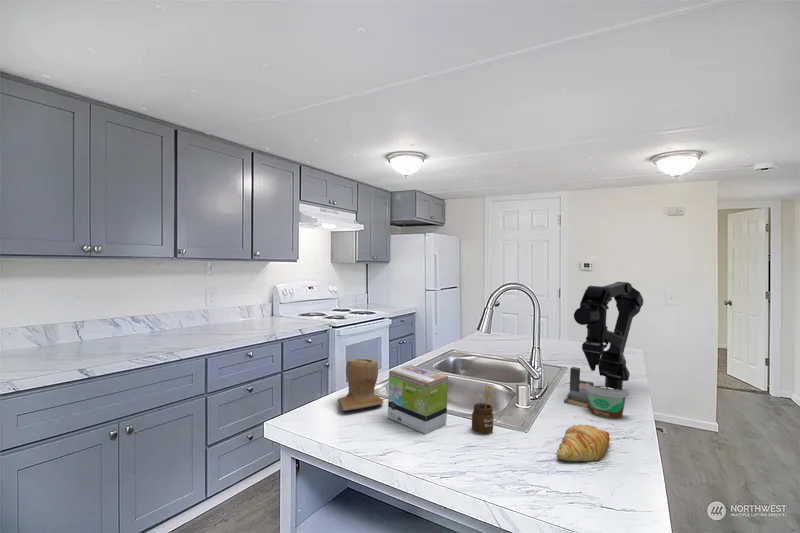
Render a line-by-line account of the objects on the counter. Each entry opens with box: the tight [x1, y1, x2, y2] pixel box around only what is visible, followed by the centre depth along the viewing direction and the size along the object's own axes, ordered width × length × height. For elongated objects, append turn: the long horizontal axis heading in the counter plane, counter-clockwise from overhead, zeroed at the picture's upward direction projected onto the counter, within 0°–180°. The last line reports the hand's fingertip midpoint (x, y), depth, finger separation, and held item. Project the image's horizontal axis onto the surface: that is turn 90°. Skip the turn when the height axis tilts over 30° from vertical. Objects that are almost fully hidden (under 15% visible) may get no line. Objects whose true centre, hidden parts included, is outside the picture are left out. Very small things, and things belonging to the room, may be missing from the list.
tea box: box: [387, 364, 449, 435], centre depth 119 cm, size 15×10×15 cm, turn 47°
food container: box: [585, 383, 629, 420], centre depth 125 cm, size 12×6×10 cm, turn 62°
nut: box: [579, 383, 587, 391], centre depth 142 cm, size 4×4×4 cm
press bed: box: [563, 379, 595, 409], centre depth 140 cm, size 16×8×6 cm, turn 148°
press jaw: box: [569, 366, 588, 403], centre depth 138 cm, size 3×6×10 cm, turn 58°
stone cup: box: [337, 358, 384, 412], centre depth 130 cm, size 15×12×15 cm
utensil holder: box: [471, 384, 494, 435], centre depth 114 cm, size 6×6×12 cm
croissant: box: [556, 424, 611, 462], centre depth 103 cm, size 21×10×8 cm, turn 125°
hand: (594, 367), depth 140 cm, fingers open, 9 cm apart
